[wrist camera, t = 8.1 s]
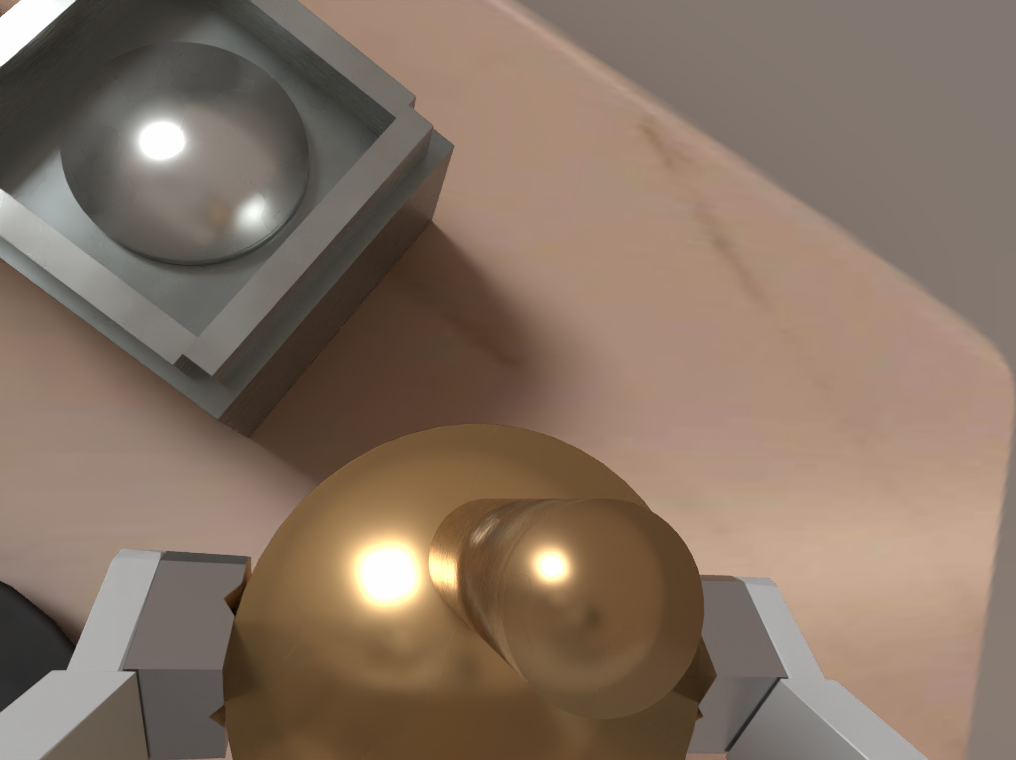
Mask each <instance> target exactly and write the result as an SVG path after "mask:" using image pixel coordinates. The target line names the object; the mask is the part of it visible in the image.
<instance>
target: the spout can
mask: <svg viewBox="0 0 1016 760" xmlns="http://www.w3.org/2000/svg"><path fill="white" fill-rule="evenodd" d="M703 620H704V595H703V589H702V582H701V579H700V575H699V572H698V568H697V566H696V563H695V561H694V559H693V556H692V554H691V553H690V551H689V549H688V547H687V546H686V544H685V543H684V541H683V540H682V539H681V537H680V536H679V534H678V533H677V532H676V531H675V530H674V529H673V528H672V527H671V526H670V525H669V524H668V523H667V522H666V521H664V520H663V519H662V518H661V517H659V516H658V515H656V514H655V513H653V512H652V511H651V510H650V508H649V507H648V506H647V504H646V503H645V502H644V501H643V500H642V499H641V498H640V497H639V496H638V494H637V493H636V492H635V491H634V490H633V489H632V488H631V487H630V486H629V485H628V484H627V483H626V482H625V481H624V480H623V479H621V478H620V477H619V476H618V475H616V474H615V473H614V472H613V471H612V470H610V469H609V468H608V467H607V466H605V465H604V464H603V463H601V462H600V461H598V460H596V459H595V458H593V457H591V456H590V455H588V454H587V453H585V452H583V451H582V450H580V449H578V448H576V447H574V446H572V445H569V444H567V443H565V442H563V441H560V440H558V439H556V438H554V437H551V436H547V435H544V434H541V433H537V432H534V431H530V430H527V429H523V428H516V427H510V426H503V425H497V424H461V425H452V426H443V427H436V428H432V429H428V430H424V431H420V432H416V433H411V434H407V435H405V436H402V437H400V438H397V439H395V440H392V441H390V442H387V443H384V444H382V445H379V446H377V447H375V448H374V449H372V450H370V451H368V452H366V453H364V454H363V455H361V456H359V457H357V458H355V459H353V460H352V461H350V462H349V463H347V464H346V465H344V466H343V467H342V468H340V469H339V470H338V471H336V472H335V473H333V474H332V475H331V476H329V477H328V478H327V479H325V480H324V481H323V482H322V483H321V484H320V485H318V486H317V487H316V488H315V489H314V490H313V491H312V492H311V493H310V494H309V495H308V496H307V497H306V498H305V499H304V500H303V501H301V502H300V503H299V504H298V506H297V507H296V508H295V509H294V511H293V512H292V513H291V514H290V515H289V517H288V518H287V519H286V520H285V521H284V523H283V524H282V525H281V526H280V528H279V529H278V530H277V532H276V533H275V535H274V536H273V538H272V539H271V541H270V543H269V544H268V546H267V547H266V549H265V550H264V552H263V554H262V555H261V557H260V558H259V560H258V562H257V564H256V567H255V569H254V571H253V573H252V575H251V577H250V579H249V581H248V584H247V586H246V588H245V590H244V592H243V596H242V599H241V602H240V605H239V608H238V611H237V614H236V617H235V620H234V623H233V629H232V637H231V645H230V654H229V662H228V670H227V678H226V687H225V695H224V699H225V713H226V726H227V734H228V739H229V744H230V748H231V753H232V758H233V760H685V757H686V754H687V751H688V748H689V744H690V741H691V738H692V735H693V731H694V727H695V722H696V716H697V711H698V706H699V700H700V647H701V633H702V628H703Z"/></svg>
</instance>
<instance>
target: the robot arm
mask: <svg viewBox="0 0 1016 760" xmlns="http://www.w3.org/2000/svg"><path fill="white" fill-rule="evenodd" d="M250 577H251V557H247V556H233V555H218V554H204V553H189V552H175V551H155V550H137V549H121V550H120V551H119V552H118V554H117V555H116V556H115V557H114V559H113V560H112V562H111V564H110V567H109V569H108V572H107V574H106V576H105V579H104V581H103V584H102V586H101V588H100V591H99V593H98V596H97V598H96V600H95V603H94V605H93V608H92V610H91V612H90V615H89V617H88V620H87V622H86V624H85V627H84V629H83V632H82V634H81V637H80V639H79V641H78V644H77V646H76V649H75V651H74V653H73V656H72V658H71V661H70V663H69V665H68V668H67V670H52V671H51V672H50V673H48V674H47V675H46V676H45V677H43V678H42V679H41V680H40V681H39V682H37V683H36V684H35V685H34V686H32V687H31V688H30V689H29V690H27V691H26V692H25V693H24V694H23V695H21V696H20V697H19V698H18V699H16V700H15V701H14V702H13V703H11V704H10V705H9V706H8V707H7V708H5V709H4V710H3V711H2V712H0V760H180V759H207V758H225V756H226V751H227V746H228V741H229V739H228V734H227V726H226V713H225V699H224V695H225V687H226V678H227V670H228V662H229V654H230V645H231V637H232V629H233V623H234V620H235V617H236V614H237V611H238V608H239V605H240V602H241V599H242V596H243V592H244V590H245V588H246V586H247V584H248V581H249V579H250ZM700 579H701V582H702V589H703V595H704V620H703V628H702V633H701V647H700V700H699V706H698V711H697V716H696V722H695V727H694V731H693V735H692V738H691V741H690V744H689V748H688V751H687V753H714V754H727V755H726V758H727V759H728V760H929V759H927V758H926V757H925V756H924V755H923V754H921V753H920V752H919V751H918V750H917V749H916V748H914V747H913V746H912V745H911V744H910V743H909V742H907V741H906V740H905V739H904V738H903V737H902V736H900V735H899V734H898V733H897V732H896V731H894V730H893V729H892V728H891V727H890V726H889V725H887V724H886V723H885V722H884V721H883V720H882V719H880V718H879V717H878V716H877V715H876V714H875V713H873V712H872V711H871V710H870V709H869V708H867V707H866V706H865V705H864V704H863V703H862V702H860V701H859V700H858V699H857V698H856V697H855V696H853V695H852V694H851V693H850V692H849V691H848V690H846V689H845V688H844V687H843V686H842V685H840V684H839V683H838V682H837V681H836V680H830V679H825V678H824V676H823V674H822V672H821V670H820V668H819V666H818V664H817V662H816V660H815V658H814V656H813V654H812V652H811V651H810V649H809V647H808V645H807V643H806V641H805V639H804V637H803V635H802V633H801V631H800V629H799V627H798V625H797V623H796V621H795V620H794V618H793V616H792V614H791V612H790V610H789V608H788V606H787V604H786V602H785V600H784V598H783V596H782V594H781V592H780V591H779V589H778V587H777V585H776V584H775V583H774V582H773V581H772V580H771V579H770V578H757V577H733V576H724V575H700Z"/></svg>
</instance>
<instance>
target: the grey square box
mask: <svg viewBox="0 0 1016 760" xmlns="http://www.w3.org/2000/svg"><path fill="white" fill-rule="evenodd" d="M415 100H416V96H415V95H414V94H412V93H411V92H410V91H409V90H408V89H406V88H405V87H404V86H403V85H401V84H400V83H399V82H398V81H396V80H395V79H394V78H393V77H391V76H390V75H389V74H388V73H386V72H385V71H384V70H383V69H382V68H380V67H379V66H378V65H377V64H375V63H374V62H373V61H372V60H370V59H369V58H368V57H367V56H365V55H364V54H363V53H362V52H360V51H359V50H358V49H357V48H356V47H354V46H353V45H352V44H351V43H349V42H348V41H347V40H346V39H344V38H343V37H342V36H341V35H339V34H338V33H337V32H336V31H335V30H333V29H332V28H331V27H330V26H328V25H327V24H326V23H325V22H323V21H322V20H321V19H320V18H318V17H317V16H316V15H315V14H313V13H312V12H311V11H310V10H309V9H307V8H306V7H305V6H304V5H302V4H301V3H300V2H299V1H297V0H21V1H20V2H19V3H17V4H16V5H15V6H14V7H13V8H12V9H10V10H9V11H8V12H7V13H6V14H5V15H3V16H2V17H1V18H0V258H2V259H3V260H4V261H6V262H7V263H8V264H10V265H11V266H12V267H14V268H15V269H16V270H18V271H19V272H20V273H22V274H23V275H24V276H26V277H27V278H28V279H30V280H31V281H32V282H34V283H35V284H36V285H38V286H39V287H40V288H42V289H43V290H44V291H46V292H47V293H48V294H50V295H51V296H52V297H54V298H55V299H56V300H58V301H59V302H60V303H62V304H63V305H64V306H66V307H67V308H68V309H70V310H71V311H72V312H74V313H75V314H77V315H78V316H79V317H81V318H82V319H83V320H85V321H86V322H87V323H89V324H90V325H91V326H93V327H94V328H95V329H97V330H98V331H99V332H101V333H102V334H103V335H105V336H106V337H107V338H109V339H110V340H111V341H113V342H114V343H115V344H117V345H118V346H119V347H121V348H122V349H123V350H125V351H126V352H127V353H129V354H130V355H131V356H133V357H134V358H135V359H137V360H138V361H139V362H141V363H142V364H143V365H145V366H146V367H147V368H149V369H150V370H151V371H153V372H154V373H155V374H157V375H158V376H159V377H161V378H162V379H164V380H165V381H166V382H168V383H169V384H170V385H172V386H173V387H174V388H176V389H177V390H178V391H180V392H181V393H182V394H184V395H185V396H186V397H188V398H189V399H190V400H192V401H193V402H194V403H196V404H197V405H198V406H200V407H201V408H202V409H204V410H205V411H206V412H208V413H209V414H210V415H212V416H213V417H214V418H216V419H217V420H219V421H220V422H222V423H224V424H225V425H227V426H229V427H231V428H232V429H234V430H236V431H237V432H239V433H241V434H242V435H244V436H246V437H249V436H250V435H251V434H252V433H253V431H254V430H255V429H256V428H257V427H258V425H259V424H260V423H261V422H262V421H263V419H264V418H265V417H266V416H267V415H268V414H269V412H270V411H271V410H272V409H273V408H274V406H275V405H276V404H277V403H278V402H279V401H280V399H281V398H282V397H283V396H284V395H285V393H286V392H287V391H288V390H289V389H290V388H291V386H292V385H293V384H294V383H295V382H296V380H297V379H298V378H299V377H300V376H301V375H302V373H303V372H304V371H305V370H306V369H307V367H308V366H309V365H310V364H311V363H312V361H313V360H314V359H315V358H316V357H317V356H318V354H319V353H320V352H321V351H322V350H323V348H324V347H325V346H326V345H327V344H328V343H329V341H330V340H331V339H332V338H333V337H334V335H335V334H336V333H337V332H338V331H339V330H340V328H341V327H342V326H343V325H344V324H345V322H346V321H347V320H348V319H349V318H350V317H351V315H352V314H353V313H354V312H355V311H356V309H357V308H358V307H359V306H360V305H361V303H362V302H363V301H364V300H365V299H366V298H367V296H368V295H369V294H370V293H371V292H372V290H373V289H374V288H375V287H376V286H377V285H378V283H379V282H380V281H381V280H382V279H383V277H384V276H385V275H386V274H387V273H388V272H389V270H390V269H391V268H392V267H393V266H394V264H395V263H396V262H397V261H398V260H399V259H400V257H401V256H402V255H403V254H404V253H405V251H406V250H407V249H408V248H409V247H410V246H411V244H412V243H413V242H414V241H415V240H416V238H417V237H418V236H419V235H420V234H421V232H422V231H423V230H424V229H425V228H426V227H427V225H428V224H429V223H430V222H431V221H432V218H433V215H434V211H435V208H436V205H437V201H438V198H439V195H440V192H441V188H442V185H443V182H444V178H445V175H446V172H447V168H448V165H449V162H450V158H451V155H452V152H453V149H454V145H453V144H452V143H451V142H449V141H448V140H447V139H446V138H444V137H443V136H442V135H441V134H439V133H438V132H437V131H436V130H434V129H433V126H434V125H432V124H431V123H430V122H429V121H427V120H426V119H425V118H424V117H423V116H421V115H420V114H419V113H418V112H416V111H415V110H414V106H415Z"/></svg>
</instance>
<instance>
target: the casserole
mask: <svg viewBox="0 0 1016 760" xmlns="http://www.w3.org/2000/svg"><path fill="white" fill-rule="evenodd" d="M75 649H76V647H75V646H74V645H73V643H72V642H71V641H70V640H69V638H68V637H67V636H66V635H65V633H64V632H63V631H62V630H61V629H60V627H59V626H58V625H57V624H56V622H55V621H54V620H52V619H51V618H50V617H49V616H48V615H46V614H45V613H44V612H43V611H41V610H40V609H39V608H38V607H36V606H35V605H34V604H33V603H31V602H30V601H29V600H28V599H26V598H25V597H24V596H23V595H22V594H20V593H19V592H18V591H17V590H15V589H14V588H13V587H11V586H9V585H7V584H5V583H3V582H1V581H0V712H2V711H3V710H4V709H5V708H7V707H8V706H9V705H10V704H11V703H13V702H14V701H15V700H16V699H18V698H19V697H20V696H21V695H23V694H24V693H25V692H26V691H27V690H29V689H30V688H31V687H32V686H34V685H35V684H36V683H37V682H39V681H40V680H41V679H42V678H43V677H45V676H46V675H47V674H48V673H50V672H51V671H52V670H67V668H68V665H69V663H70V661H71V658H72V656H73V653H74V651H75Z"/></svg>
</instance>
